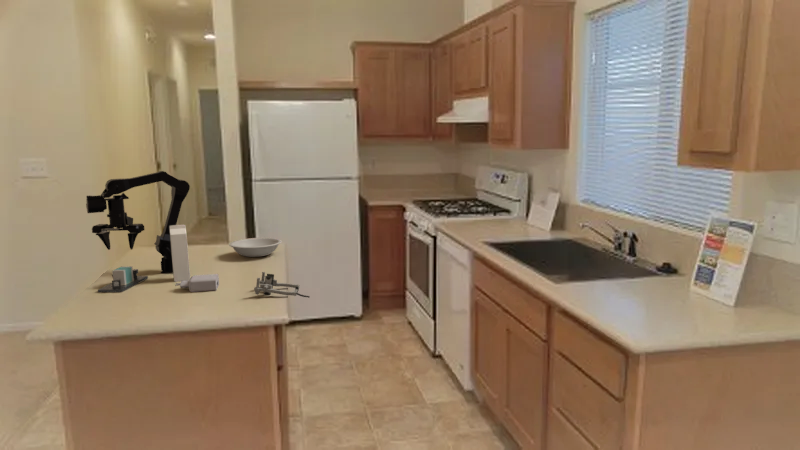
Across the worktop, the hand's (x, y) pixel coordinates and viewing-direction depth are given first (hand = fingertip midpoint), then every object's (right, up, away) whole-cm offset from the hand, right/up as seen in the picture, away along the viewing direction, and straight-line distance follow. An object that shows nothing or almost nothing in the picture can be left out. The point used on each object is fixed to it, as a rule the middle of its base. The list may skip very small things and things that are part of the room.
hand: (120, 249), depth 231 cm
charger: (+36, -15, -16) cm, 42 cm away
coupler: (+5, -12, -8) cm, 16 cm away
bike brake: (+70, -15, -23) cm, 75 cm away
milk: (+25, -12, -1) cm, 28 cm away
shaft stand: (+5, -13, -8) cm, 17 cm away
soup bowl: (+45, -5, +40) cm, 60 cm away
